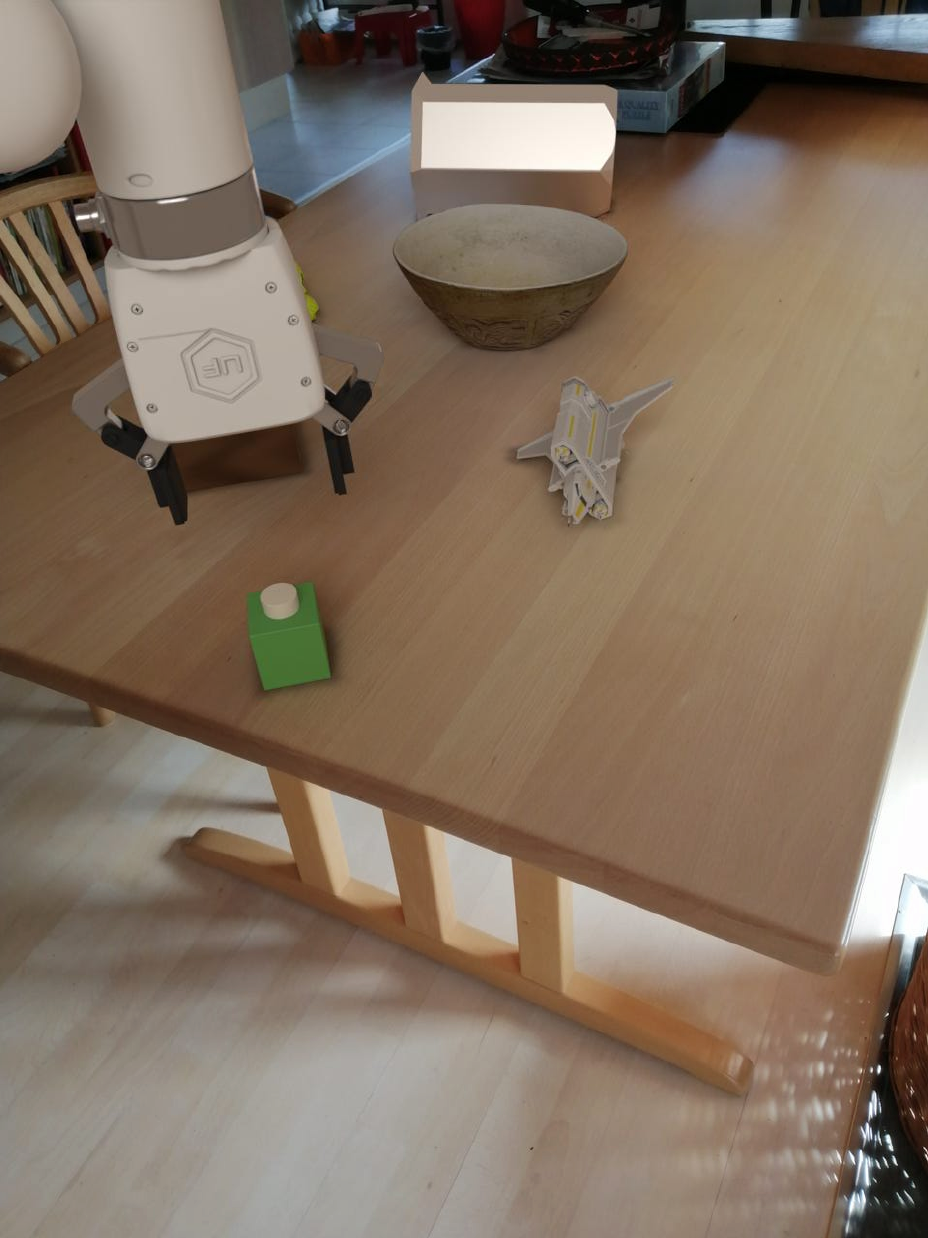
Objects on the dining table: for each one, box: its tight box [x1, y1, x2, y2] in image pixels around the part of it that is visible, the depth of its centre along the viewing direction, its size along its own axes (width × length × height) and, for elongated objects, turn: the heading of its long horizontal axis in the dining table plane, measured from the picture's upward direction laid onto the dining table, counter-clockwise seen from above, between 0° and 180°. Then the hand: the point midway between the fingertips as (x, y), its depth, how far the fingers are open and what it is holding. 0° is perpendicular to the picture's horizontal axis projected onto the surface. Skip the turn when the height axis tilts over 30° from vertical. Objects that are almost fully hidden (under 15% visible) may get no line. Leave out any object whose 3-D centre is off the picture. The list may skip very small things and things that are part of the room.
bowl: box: [392, 204, 629, 351], centre depth 104 cm, size 24×24×10 cm
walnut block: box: [168, 423, 303, 493], centre depth 90 cm, size 11×11×5 cm
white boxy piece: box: [409, 71, 618, 221], centre depth 130 cm, size 25×16×19 cm, turn 84°
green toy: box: [245, 581, 332, 691], centre depth 68 cm, size 5×5×6 cm
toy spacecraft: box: [516, 375, 676, 528], centre depth 80 cm, size 8×15×15 cm
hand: (261, 497), depth 61 cm, fingers open, 9 cm apart
